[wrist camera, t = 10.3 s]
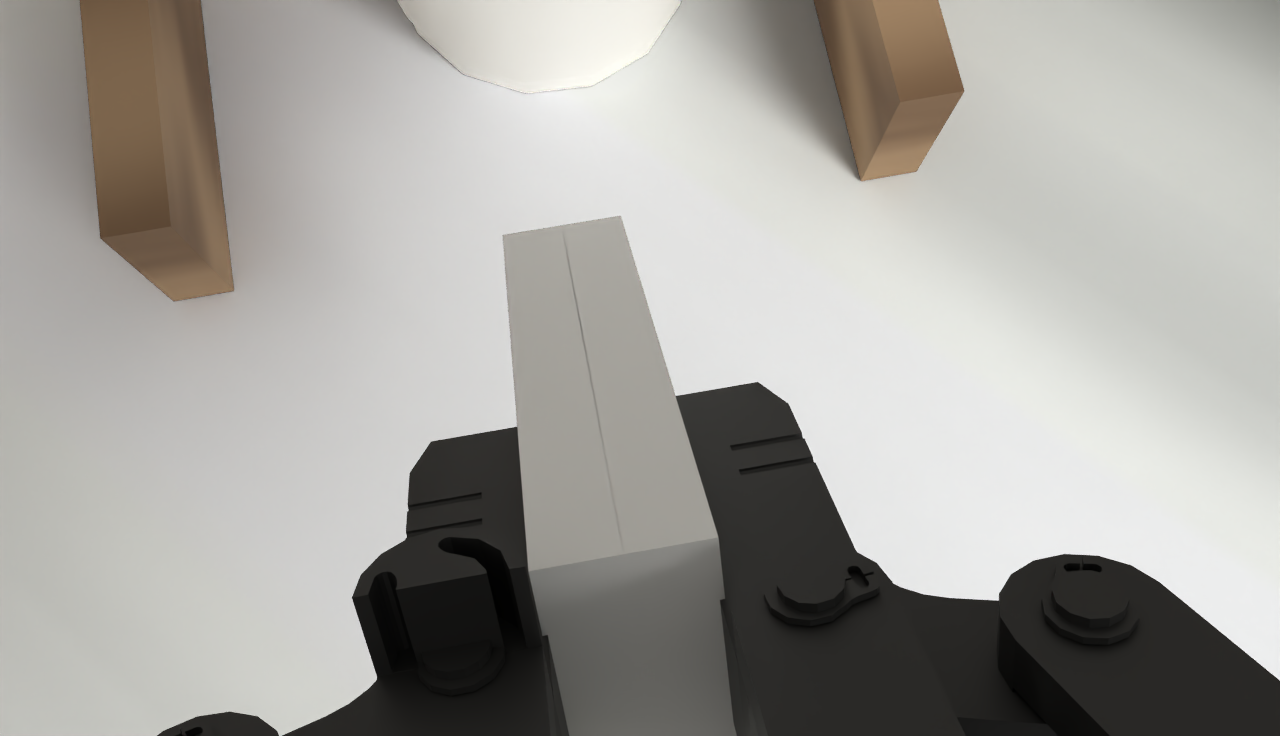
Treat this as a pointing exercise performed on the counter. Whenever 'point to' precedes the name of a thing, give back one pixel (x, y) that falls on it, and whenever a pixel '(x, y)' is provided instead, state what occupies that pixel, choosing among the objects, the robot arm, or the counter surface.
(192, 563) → the counter surface
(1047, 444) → the counter surface
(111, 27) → the brown bent bar
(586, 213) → the counter surface
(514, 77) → the foam cup
